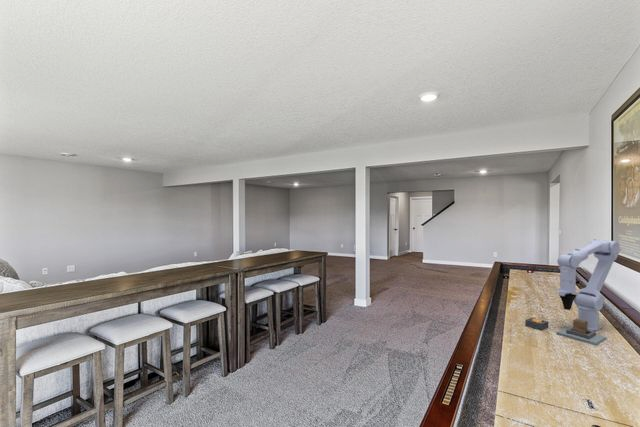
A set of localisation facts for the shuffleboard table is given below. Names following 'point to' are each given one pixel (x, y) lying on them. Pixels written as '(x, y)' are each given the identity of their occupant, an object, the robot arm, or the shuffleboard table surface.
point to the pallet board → (582, 336)
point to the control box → (536, 324)
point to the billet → (580, 326)
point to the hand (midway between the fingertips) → (567, 309)
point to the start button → (537, 320)
